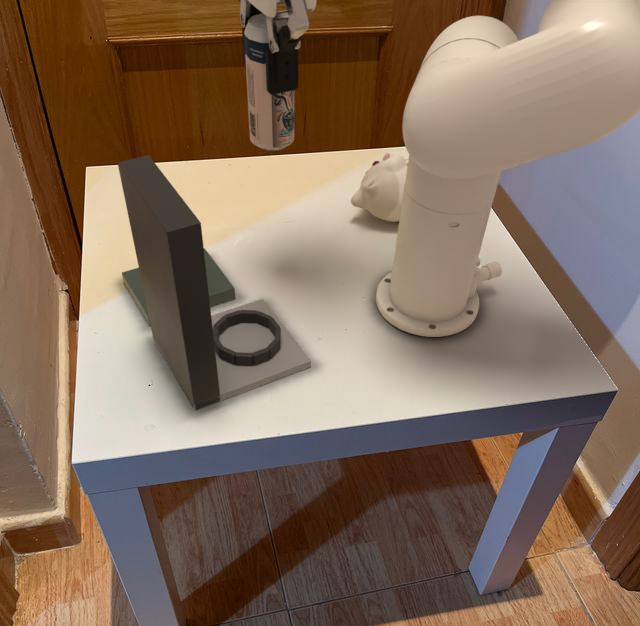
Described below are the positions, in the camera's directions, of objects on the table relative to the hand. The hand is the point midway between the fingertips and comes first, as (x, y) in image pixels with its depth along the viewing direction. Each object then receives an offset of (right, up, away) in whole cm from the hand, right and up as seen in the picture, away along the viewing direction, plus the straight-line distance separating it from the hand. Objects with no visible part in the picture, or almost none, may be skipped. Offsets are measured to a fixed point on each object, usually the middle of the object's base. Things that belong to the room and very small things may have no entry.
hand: (270, 77), depth 69 cm
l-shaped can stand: (-5, -27, +9) cm, 29 cm away
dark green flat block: (-12, -19, +15) cm, 27 cm away
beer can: (0, -5, +5) cm, 7 cm away
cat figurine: (+16, -5, +28) cm, 33 cm away
